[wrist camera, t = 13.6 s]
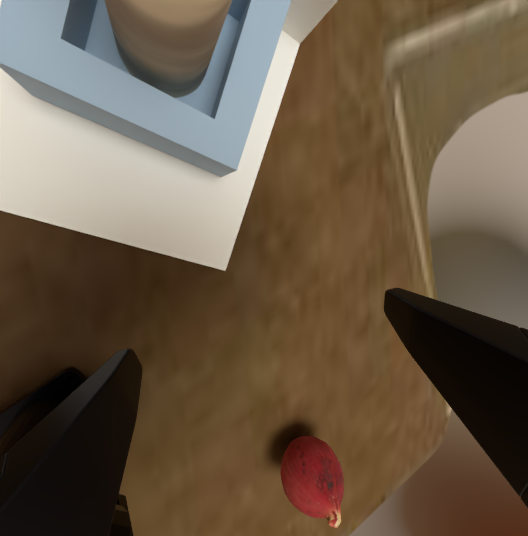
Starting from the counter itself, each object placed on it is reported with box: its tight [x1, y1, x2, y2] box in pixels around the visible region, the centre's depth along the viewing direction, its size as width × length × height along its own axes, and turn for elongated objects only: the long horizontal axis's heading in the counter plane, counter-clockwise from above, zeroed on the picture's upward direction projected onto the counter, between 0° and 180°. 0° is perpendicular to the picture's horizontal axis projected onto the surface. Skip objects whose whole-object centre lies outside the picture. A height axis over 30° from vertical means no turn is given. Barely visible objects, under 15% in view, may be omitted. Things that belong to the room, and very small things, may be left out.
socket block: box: [0, 0, 291, 177], centre depth 14 cm, size 11×11×4 cm
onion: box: [281, 436, 344, 528], centre depth 25 cm, size 6×6×8 cm
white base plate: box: [0, 0, 338, 271], centre depth 14 cm, size 20×16×6 cm
